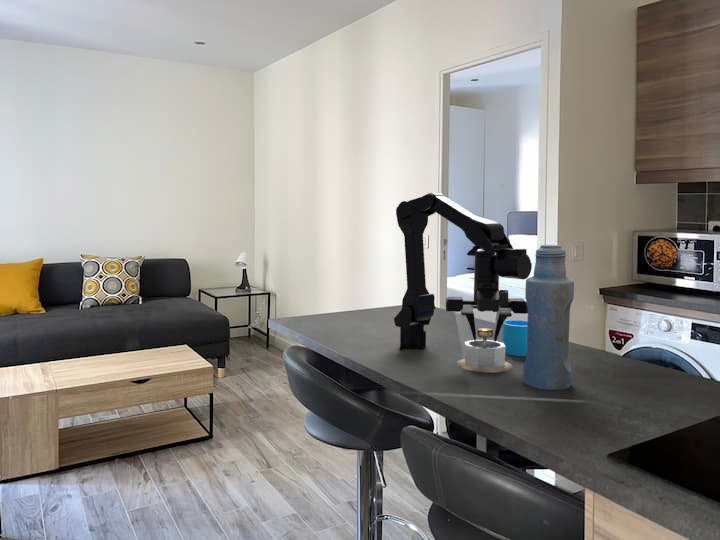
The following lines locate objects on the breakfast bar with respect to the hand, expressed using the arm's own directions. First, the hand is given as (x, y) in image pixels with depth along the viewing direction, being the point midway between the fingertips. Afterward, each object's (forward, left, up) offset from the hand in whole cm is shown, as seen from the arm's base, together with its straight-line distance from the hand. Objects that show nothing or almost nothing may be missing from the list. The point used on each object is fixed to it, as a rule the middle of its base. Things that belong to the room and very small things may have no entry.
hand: (484, 340), depth 134 cm
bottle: (+12, -13, -6) cm, 19 cm away
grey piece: (0, +2, -6) cm, 6 cm away
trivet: (0, 0, -6) cm, 6 cm away
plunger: (0, 0, -5) cm, 5 cm away
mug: (+9, +16, -7) cm, 20 cm away
